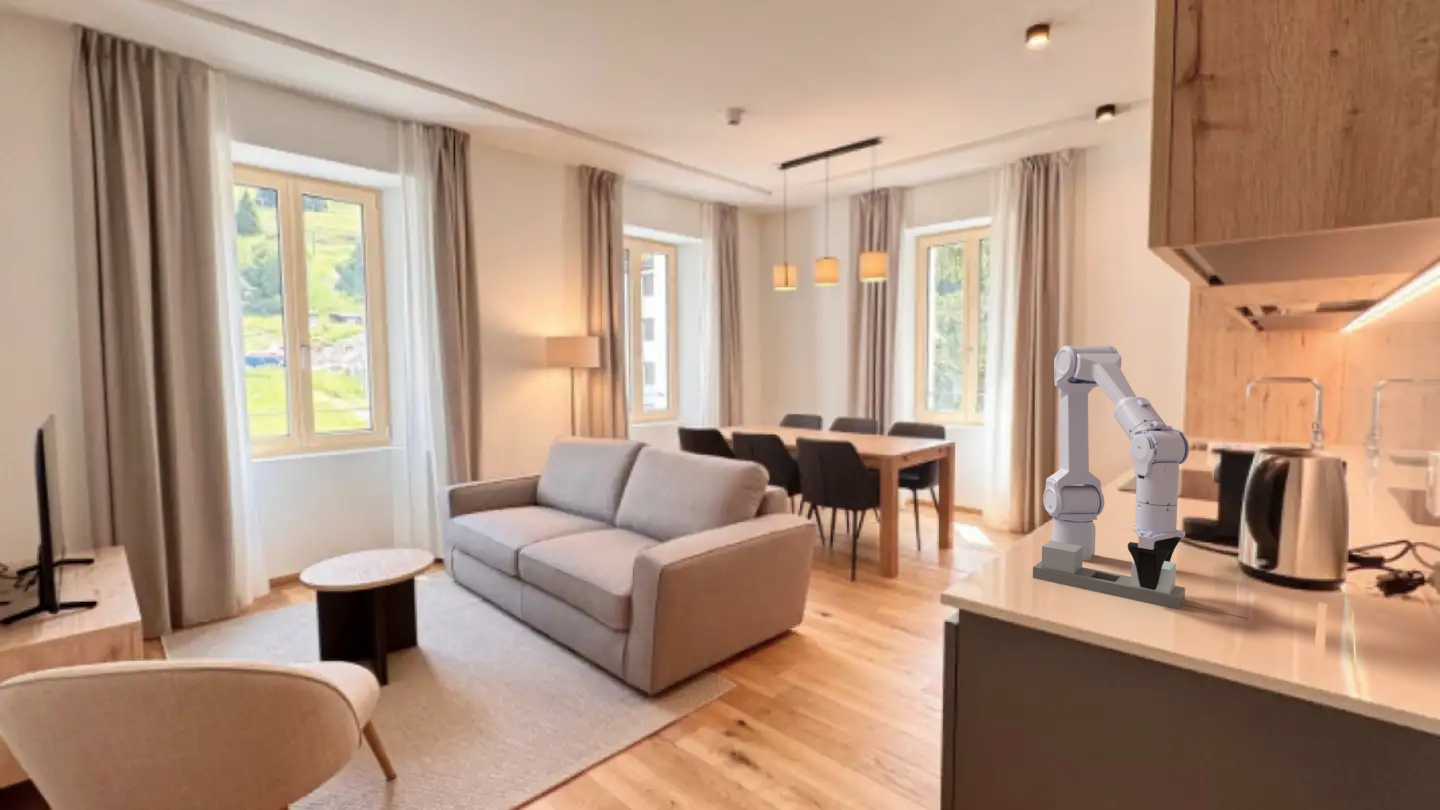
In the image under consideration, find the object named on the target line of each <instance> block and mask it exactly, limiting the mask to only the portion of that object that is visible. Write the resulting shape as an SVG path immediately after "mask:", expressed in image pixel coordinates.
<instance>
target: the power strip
mask: <svg viewBox="0 0 1440 810" xmlns="http://www.w3.org/2000/svg"><path fill="white" fill-rule="evenodd" d="M1082 559H1083V546H1079V545H1073V544H1068V543H1062V542H1056V541H1052V540H1050V541H1048V542H1046V543H1044V544H1043V545H1042V546H1041V561H1039V562H1038V563H1036V564H1034V566H1032V578H1033V579H1035V580H1036V579H1037V580H1041V581H1044V582H1045V581H1046V582H1050V583H1055V584H1060V585H1064V586H1067V587H1072V588H1077V589H1081V590H1087V591H1091V592H1096V593H1101V594H1104V595H1110V596H1114V597H1119V598H1123V599H1127V600H1132V601H1137V602H1142V603H1144V604H1145V603H1146V604H1150V605H1156V606H1160V607H1164V608H1169V609H1173V610H1179V609H1180V608H1181V606H1182V604H1183V603H1184V601H1185V600H1186V587H1185V586H1181V585H1180V586H1179V585H1175V587H1174V589H1173V590H1172V592H1171V593H1170V594H1166V593H1161V592H1156V591H1151V590H1146V589H1141V588H1137V587H1132V586H1131V575H1130V576H1128V575H1123V574H1118V573H1113V572H1108V571H1103V570H1098V569H1093V568H1088V567H1085V566H1084V567H1083V560H1082ZM1183 606H1185V607H1189V608H1194V609H1198V610H1203V611H1209V612H1214V613H1217V614H1223V615H1227V616H1230V617H1231V616H1232V617H1235V618H1237V617H1238V618H1241V619H1246V620H1249V619H1250V618H1248V617H1243V616H1239V615H1235V614H1229V613H1225V612H1221V611H1215V610H1211V609H1207V608H1202V607H1197V606H1192V605H1188V604H1183Z"/></svg>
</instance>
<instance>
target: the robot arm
mask: <svg viewBox="0 0 1440 810" xmlns="http://www.w3.org/2000/svg"><path fill="white" fill-rule="evenodd" d="M1122 360H1123V359H1122V356H1121V354H1120V353H1119V352H1118V349H1117V348H1116V347H1115V346H1113V345H1111V344H1110V345H1108V344H1107V345H1104V346H1103V345H1101V346H1100V345H1095V346H1094V345H1093V346H1092V345H1089V346H1088V345H1087V346H1085V345H1084V346H1082V345H1081V346H1080V345H1079V346H1071V345H1064V346H1061V348H1060V349H1059V351H1058V352H1057V354H1056V355H1055V357H1054V361H1053V362H1054V363H1053V368H1054V369H1053V371H1054V372H1053V375H1054V378H1053V379H1054V386H1055V387H1056V388H1057V389H1058V390H1059V391H1058V396H1059V398H1058V400H1059V403H1058V405H1059V410H1058V411H1059V421H1058V422H1059V470H1057V471H1056V472H1054V473H1053V474H1051V475H1050V476H1048V477H1047V478H1046V479H1045V488H1044V491H1043V492H1044V493H1043V496H1042V497H1043V498H1042V502H1043V507H1044V509H1045V510H1046V511H1047V514H1048V515H1049V516H1050V517H1052V528H1051V529H1052V533H1051V534H1052V536H1051V541H1056V542H1062V543H1068V544H1073V545H1079V546H1083V559H1082V561H1089V560H1091V559H1092V558H1093V557H1092V556H1098V557H1100V555H1098V554H1096V553H1095V552H1096V524H1095V522H1094V521H1095V520H1096V521H1097V520H1098V518H1097V517H1098V516H1100V515H1101V514H1102V512H1103V510H1104V508H1105V496H1104V493H1103V491H1102V486H1101V485H1102V482H1101V480H1100V479H1099V478H1098V477H1097V476H1095V475H1094V474H1093V473H1091V472H1090V468H1089V467H1090V466H1089V465H1090V464H1089V463H1090V460H1089V458H1090V457H1089V456H1090V455H1089V451H1090V450H1089V447H1090V446H1089V394H1090V392H1092V390H1093V389H1094V388H1097V387H1099V388H1100V389H1101V390H1102V391H1103V392H1104V394H1105V395H1106V396H1107V397H1108V398H1109V400H1110V401H1111V402H1112V403H1113V404H1114V406H1115V409H1114V411H1113V415H1114V418H1115V420H1116V422H1117V423H1118V424H1119V426H1120V427H1121V429H1122V431H1123V432H1124V433H1125V435H1126V436H1127V438H1128V439H1129V441H1130V442H1131V443H1130V444H1129V445H1128V449H1129V455H1130V457H1131V460H1132V463H1133V465H1132V470H1133V472H1134V473H1135V474H1136V487H1135V490H1136V491H1135V509H1134V510H1135V511H1134V512H1135V514H1134V515H1135V516H1134V524H1133V526H1132V527H1133V528H1132V529H1133V532H1134V533H1135V534H1136V535H1137V537H1138V540H1137V541H1138V542H1133V541H1130V542H1128V543H1127V550H1128V551H1129V553H1130V555H1131V557H1132V559H1133V560H1132V561H1134V562H1135V565H1136V569H1137V574H1138V579H1139V584H1140V587H1142V588H1147V589H1152V590H1155V589H1156V588H1157V585H1158V582H1159V578H1160V573H1161V569H1162V566H1163V563H1164V561H1168V562H1171V560H1172V556H1173V554H1174V552H1175V550H1176V547H1178V545H1179V543H1180V542H1181V541H1182V540H1181V539H1182V538H1184V537H1185V536H1186V531H1185V530H1179V529H1177V526H1178V525H1177V524H1178V522H1177V521H1178V503H1179V501H1178V499H1179V496H1178V495H1179V477H1180V476H1179V475H1180V465H1181V464H1184V463H1185V462H1186V461H1187V459H1188V457H1189V454H1190V443H1189V441H1188V439H1187V437H1186V435H1185V433H1184V432H1183V431H1182V430H1180V429H1178V428H1177V429H1175V428H1173V427H1172V425H1167V424H1166V423H1165V421H1163V418H1162V417H1161V416H1160V415H1159V413H1158V412H1157V411H1156V409H1155V408H1154V407H1153V406H1152V405H1153V404H1151V402H1150V401H1149V399H1147V398H1145V397H1141V396H1137V395H1136V394H1135V391H1134V390H1133V389H1132V387H1131V385H1130V383H1129V382H1128V380H1127V378H1126V376H1125V375H1124V373H1123V371H1122V370H1121V369H1122Z"/></svg>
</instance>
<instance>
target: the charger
mask: <svg viewBox="0 0 1440 810" xmlns="http://www.w3.org/2000/svg"><path fill="white" fill-rule="evenodd" d="M1130 565H1131V567H1130V568H1131V569H1130V570H1131V571H1130V577H1131V586H1132V587H1137V588H1141V589H1146V590H1151V591H1156V592H1161V593H1166V594H1170V593H1171V592H1172V590H1173V589H1174V587H1175V586H1176V579H1177V578H1176V576H1177V574H1176V573H1177V562H1174V561H1173V562H1172V561H1170V562H1168V561H1164V563H1163V566H1162V569H1161V573H1160V578H1159V582H1158V585H1157V588H1156V589H1155V590H1152V589H1147V588H1142V587H1140V584H1139V579H1138V574H1137V569H1136V565H1135V562H1134V560H1132V562H1131V564H1130Z"/></svg>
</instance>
